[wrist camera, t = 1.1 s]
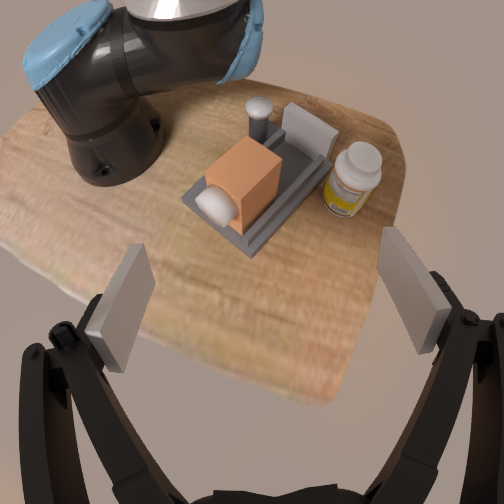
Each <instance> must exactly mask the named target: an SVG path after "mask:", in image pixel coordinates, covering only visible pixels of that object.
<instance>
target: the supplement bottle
mask: <svg viewBox="0 0 504 504" xmlns="http://www.w3.org/2000/svg"><path fill="white" fill-rule="evenodd" d="M381 165H382V156H381V154H380V152H379V151H378V150H377V149H376V148H375V147H374V146H373V145H371V144H369V143H367V142H360V141H359V142H355V143H353V144H351V145H350V147H349V148H348V149H345V150H343V151H342V152H341V153H340V154H339V155H338V156H337V158H336V160H335V163H334V165H333V168H332V170H331V173H330V175H329V177H328V180H327V182H326V185H325V187H324V190H323V202H324V204H325V206H326V207H327V209H328V210H329V211H330V212H331V213H333V214H334V215H336V216H339V217H351V216H354V215H356V214H357V213H358V212H359V211H360V210H361V208H362V207H363V205H364V204H365V202H366V201H367V200H368V198H369V197H370V195H371V194H372V192H373V191H374V190H375V188H376V187H377V185H378V184H379V182H380V180H381V176H382V171H381Z"/></svg>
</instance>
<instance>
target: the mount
mask: <svg viewBox="0 0 504 504" xmlns="http://www.w3.org/2000/svg"><path fill="white" fill-rule="evenodd" d="M338 134H339V131H337V130H336V129H334V128H333V127H331V126H330V125H328V124H327V123H325V122H323V121H322V120H320V119H319V118H317V117H315V116H314V115H312V114H311V113H309V112H307V111H306V110H304V109H302V108H301V107H299V106H297V105H296V104H294V103H292V102H291V103H289V104H288V105H287V106H286V107H284V112H283V119H282V127H281V128H280V127H279V126H277V125H275V124H274V123H272V122H271V121H269V120H268V130H267V141H266V142H265V143H264V144H263V146H264V147H266V148H267V149H269V150H270V151H272V152H273V153H275V154H276V155H277V156H279V157H280V158H282V165H281V171H280V177H279V183H278V189H277V195H276V200H275V202H274V203H273V204H272V205H271V206H270V207H269V208H268V209H267V211H266V212H265V213H264V214H263V215H262V216H261V217H260V218H259V219H258V220H257V221H256V222H255V223H254V224H253V225H252V226H251V228H250V229H249V230H248V231H247V232H246V233H245V234H244V235H243V236H242V235H240V234H239V233H238V232H237V231H236V230H234V229H233V228H232V227H231V226H229V225H228V224H227V225H226V226H225V227H224V228H222V227H220V226H218V225H216V224H215V223H214V222H212V221H211V220H210V219H209V218H208V217H207V216H206V215H205V214H204V213H203V212H202V211H201V210H200V208H199V207H198V205H197V204H196V201H195V198H196V197H197V196H198V195H199V194H200V193H201V192H202V191H204V190H205V189H206V188H207V183H206V178H205V175H204V176H203V177H202V178H201V179H200V180H199V181H198V182H197V183H195V184H194V185H193V186H192V187H191V188H190V189H189V190H188V191H187V192H186V193H185V194H184V195H183V196H182V197H181V199H182V201H183V203H184V204H185V205H186V206H188V207H189V208H190V209H191V210H192V211H194V212H195V213H196V214H197V215H198V216H200V217H201V218H202V219H203V220H204V221H206V222H207V223H208V224H209V225H210V226H212V227H213V228H214V229H215V230H217V231H218V232H219V233H220V234H221V235H223V236H224V237H225V238H226V239H227V240H229V241H230V242H231V243H232V244H233V245H235V246H236V247H237V248H238V249H240V250H241V251H242V252H243V253H244V254H246V255H247V256H248V257H249V258H250V259H252V258H253V257H254V255H255V254H256V253H257V252H258V251H259V250H260V249H261V248H262V247H263V245H264V244H265V243H266V242H267V241H268V240H269V239H270V238H271V237H272V235H273V234H274V233H275V232H276V231H277V230H278V229H279V228H280V227H281V225H282V224H283V223H284V222H285V221H286V220H287V219H288V218H289V217H290V215H291V214H292V213H293V212H294V211H295V210H296V209H297V208H298V206H299V205H300V204H301V203H302V202H303V201H304V200H305V199H306V198H307V196H308V195H309V194H310V193H311V192H312V191H313V190H314V189H315V187H316V186H317V185H318V184H319V183H320V182H321V181H322V180H323V179H324V177H325V176H326V175H327V174H328V173H329V172H330V171H331V170H332V167H333V165H334V163H333V162H331V161H330V160H329V158H330V155H331V152H332V150H333V147H334V144H335V142H336V139H337V136H338Z"/></svg>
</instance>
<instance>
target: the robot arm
mask: <svg viewBox="0 0 504 504" xmlns="http://www.w3.org/2000/svg"><path fill="white" fill-rule="evenodd" d="M125 5H126V6H125V7H121V8H118V9H113V5H112V4H111V3H110V2H109V1H108V0H92V1H89V2H86V3H84V4H81V5H79V6H77V7H75V8H73V9H72V10H70V11H68V12H67V13H65V14H64V15H62V16H60V17H59V18H58V19H56V20H55V21H53V22H52V23H51V24H50V25H49V26H47V27H46V28H45V29H44V30H43V31H42V32H41V33H40V34H39V35H38V36H37V37H36V38H35V39H34V40H33V42H32V43H31V44H30V45H29V47H28V49H27V51H26V52H25V54H24V58H23V62H22V66H23V70H24V72H25V74H26V76H27V78H28V81H29V83H30V85H31V89H32V90H34V91H35V93H36V94H37V95H38V97H39V98H40V100H41V101H42V103H43V104H44V106H45V107H46V109H47V110H48V112H49V113H50V115H51V116H52V117H53V119H54V120H55V122H56V123H57V125H58V126H59V127H60V129H61V130H62V132H63V133H64V134H65V136H66V139H67V144H68V148H69V153H70V157H71V161H72V164H73V166H74V168H75V170H76V171H77V173H78V174H79V175H80V176H81V177H82V179H83V180H85V181H86V182H87V183H89V184H91V185H94V186H99V187H110V186H115V185H119V184H122V183H125V182H127V181H130V180H132V179H133V178H135V177H137V176H138V175H140V174H141V173H143V172H144V171H145V170H146V169H147V168H148V167H149V166H150V165H151V164H152V163H153V162H154V161H155V160H156V158H157V157H158V155H159V154H160V152H161V150H162V148H163V145H164V142H165V127H164V124H163V121H162V118H161V116H160V114H159V112H158V111H157V110H156V109H155V108H154V106H153V105H152V104H151V103H150V102H149V101H148V100H147V99H146V98H145V97H144V96H145V95H150V94H156V93H161V92H167V91H173V90H179V89H186V88H193V87H200V86H209V85H219V84H222V83H224V82H230V81H237V80H242V79H244V78H246V77H248V76H249V75H250V74H251V73H252V72H253V70H254V68H255V67H256V65H257V62H258V59H259V56H260V51H261V46H262V40H263V32H262V26H263V20H264V13H263V4H262V0H125ZM377 270H378V272H379V273H380V275H381V277H382V279H383V281H384V283H385V285H386V287H387V289H388V291H389V293H390V295H391V297H392V299H393V301H394V303H395V305H396V307H397V310H398V312H399V314H400V316H401V318H402V320H403V322H404V324H405V327H406V329H407V331H408V333H409V335H410V337H411V340H412V342H413V344H414V347H415V349H416V351H417V353H418V355H420V354H425V353H430V352H432V351H433V349H434V347H435V345H436V343H437V345H438V347H439V349H440V350H439V352H438V354H437V356H436V358H435V360H434V361H433V363H432V365H433V367H432V369H431V372H430V374H429V377H428V379H427V382H426V384H425V386H424V389H423V391H422V393H421V395H420V398H419V400H418V402H417V404H416V406H415V409H414V411H413V413H412V415H411V417H410V419H409V421H408V423H407V425H406V427H405V429H404V431H403V433H402V435H401V437H400V438H399V440H398V442H397V444H396V446H395V448H394V449H393V451H392V453H391V455H390V456H389V458H388V460H387V461H386V463H385V465H384V467H383V468H382V470H381V471H380V473H379V475H378V476H377V477H376V479H375V480H374V481H373V483H372V484H371V485H370V487H369V488H368V490H367V491H366V492H365V494H364V495H361V494H359V493H357V492H354V491H350V490H345V489H338V487H337V484H331V485H324V486H316V487H308V488H304V489H301V490H298V491H295V492H292V493H289V494H285V495H282V496H278V497H271V496H266V495H260V494H256V493H251V492H246V491H223V490H221V491H220V490H214V491H213V495H211V496H207V497H203V498H201V499H198V500H196V501H194V502H193V503H190V504H423V503H424V501H425V500H426V498H427V496H428V494H429V492H430V490H431V488H432V486H433V484H434V482H435V480H436V477H437V475H438V470H437V465H438V463H439V460H440V458H441V456H442V454H443V451H444V449H445V447H446V444H447V442H448V439H449V437H450V434H451V431H452V429H453V426H454V424H455V421H456V418H457V415H458V412H459V409H460V406H461V403H462V400H463V397H464V394H465V390H466V387H467V383H468V379H469V376H470V372H471V368H472V365H473V405H472V422H471V433H470V443H469V451H468V459H467V465H466V472H465V477H464V483H463V488H462V493H461V498H460V504H504V313H498V314H496V316H495V317H494V319H493V321H488V320H480V318H479V316H478V315H477V314H476V313H475V312H473V311H471V310H467V309H464V308H463V306H462V305H461V303H460V302H459V300H458V298H457V297H456V295H455V294H454V292H453V291H451V288H450V287H449V285H448V284H447V282H446V281H445V279H444V278H443V277H442V276H441V275H439V274H438V273H437V272H436V271H431V272H428V270H427V269H426V267H425V266H424V264H423V263H422V262H421V260H420V259H419V257H418V256H417V255H416V253H415V252H414V251H413V249H412V248H411V246H410V245H409V244H408V242H407V241H406V240H405V238H404V237H403V236H402V234H401V233H400V232H399V230H398V229H397V228H396V226H393V227H383V232H382V239H381V245H380V252H379V258H378V264H377ZM154 286H155V280H154V276H153V273H152V270H151V267H150V264H149V260H148V257H147V254H146V250H145V247H144V244H131V246H130V247H129V249H128V251H127V252H126V254H125V256H124V258H123V259H122V261H121V263H120V265H119V266H118V268H117V270H116V272H115V273H114V275H113V277H112V279H111V281H110V282H109V284H108V286H107V288H106V290H105V292H104V293H103V294H97V295H96V296H95V297H94V298H93V299H92V300H91V301H90V303H89V305H88V307H87V310H85V312H84V316H82V318H81V320H80V322H79V324H78V326H77V328H76V329H75V327H74V325H73V324H72V323H71V322H69V321H63V322H60V323H58V324H57V325H55V326H54V327H53V328H52V329H51V330H50V333H49V340H50V341H51V342H52V344H53V346H54V347H55V348H52V349H47V350H46V349H45V348H44V347H43V345H42V344H40V343H34V344H32V345H30V346H29V347H27V348H26V350H25V351H24V353H23V357H22V366H21V378H20V393H19V450H20V465H21V476H22V485H23V493H24V499H25V504H90V503H89V499H88V495H87V491H86V487H85V483H84V478H83V473H82V469H81V464H80V459H79V453H78V447H77V441H76V435H75V428H74V419H73V411H72V401H71V394H72V396H73V399H74V402H75V404H76V407H77V409H78V412H79V414H80V417H81V419H82V421H83V424H84V426H85V428H86V431H87V433H88V435H89V437H90V439H91V442H92V444H93V446H94V448H95V450H96V452H97V454H98V456H99V458H100V460H101V462H102V464H103V466H104V468H105V469H106V471H107V473H108V475H109V477H110V479H111V480H112V483H113V487H112V491H113V493H114V495H115V497H116V499H117V501H118V502H119V504H189V503H188V502H187V500H186V499H185V498H184V497H183V496H182V495H181V494H180V493H179V492H178V491H177V489H176V488H175V487H174V486H173V485H172V484H171V482H170V481H169V479H168V478H167V477H166V475H165V474H164V473H163V471H162V470H161V468H160V467H159V466H158V464H157V463H156V461H155V460H154V458H153V457H152V455H151V454H150V452H149V451H148V450H147V448H146V446H145V445H144V443H143V442H142V440H141V438H140V437H139V435H138V434H137V432H136V430H135V429H134V427H133V425H132V424H131V422H130V420H129V419H128V417H127V415H126V414H125V412H124V410H123V408H122V407H121V405H120V403H119V401H118V399H117V398H116V396H115V394H114V392H113V390H112V388H111V386H110V384H109V382H108V380H107V378H106V376H105V374H104V373H103V371H102V370H103V367H104V365H105V366H106V367H107V369H108V370H109V371H110V372H116V373H124V371H125V368H126V365H127V362H128V359H129V355H130V353H131V350H132V347H133V344H134V341H135V338H136V335H137V332H138V329H139V326H140V324H141V321H142V318H143V315H144V313H145V310H146V307H147V304H148V302H149V299H150V296H151V294H152V291H153V288H154Z"/></svg>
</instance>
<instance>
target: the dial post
mask: <svg viewBox="0 0 504 504" xmlns="http://www.w3.org/2000/svg"><path fill="white" fill-rule="evenodd" d="M272 110H273V103H272V102H271V101H270V100H269V99H268V98H266V97H262V96H256V97H252V98H250V99H249V100H248V101H247V102H246V113H247V115H248V116H249V137H250V138H252V139H253V140H255V141H256V142H258V143H260V144H261V145H263V144H264V143H265V142H266V141H267V130H268V118H269V117H270V116H271V114H272Z"/></svg>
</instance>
